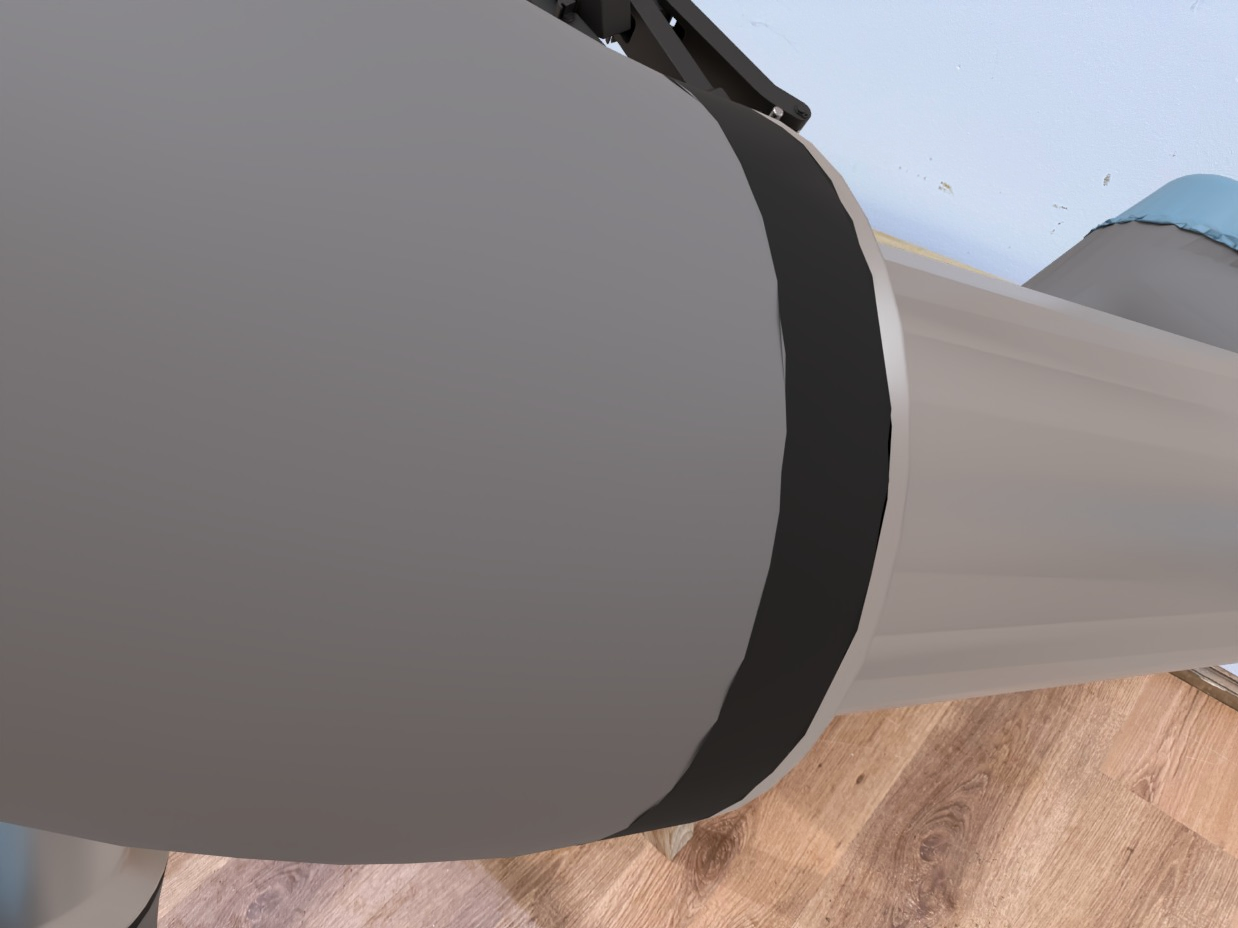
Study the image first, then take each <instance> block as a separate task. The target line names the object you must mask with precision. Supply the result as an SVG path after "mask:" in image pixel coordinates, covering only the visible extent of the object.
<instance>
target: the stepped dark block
mask: <svg viewBox="0 0 1238 928" xmlns="http://www.w3.org/2000/svg"><path fill="white" fill-rule="evenodd" d="M576 13H577V14H578V16H579V17H580V18H581V19H582V20H583V21H584V22H585V23H586V24H587V25H588V27H589V28H590V29H591V30H592V31H593V32H594V33H595V34H596V35H597V37H598V38H599V39H600V40H605V39H606V38H609V37H611V36H614V35H616V34H619V33H622V32H624V31H627V30H630V28H631V20H630V0H580V1H579V4H578V7H577V10H576ZM611 38H612V37H611Z"/></svg>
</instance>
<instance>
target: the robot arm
mask: <svg viewBox="0 0 1238 928" xmlns="http://www.w3.org/2000/svg"><path fill="white" fill-rule="evenodd" d="M579 1H580V0H0V928H158V921H159V920H158V919H159V918H158V917H159V905H160V898H161V893H162V889H163V885H164V884H163V883H164V879H165V874H166V870H167V866H168V861H169V857H170V852H174V853H181V854H182V853H183V854H184V853H185V854H194V855H203V856H212V857H223V858H232V859H243V860H245V859H246V860H259V861H273V862H275V861H276V862H289V863H290V862H291V863H305V864H317V865H318V864H319V865H335V866H356V865H357V866H358V865H359V866H363V865H410V864H426V863H427V864H428V863H442V862H444V863H445V862H459V861H460V862H461V861H477V860H492V859H509V858H510V859H511V858H518V857H522V856H523V857H524V856H528V855H533V854H538V853H544V852H549V851H554V850H560V849H565V848H569V847H575V846H576V847H578V846H583V845H587V844H591V843H596V842H601V841H605V840H610V839H616V838H621V837H627V836H631V835H636V834H642V833H647V832H652V831H657V830H663V829H668V828H672V827H677V826H683V825H688V824H692V823H697V822H701V821H705V820H706V821H707V820H708V819H712V818H715V817H718V816H721V815H724V814H727V813H730V812H732V811H736V810H739V809H740V808H742V807H745V805H747V804H749V803H750V802H752V801H753V800H755V799H757V798H758V797H760V796H761V795H763V794H765V793H766V792H768V791H770V790H771V789H772V788H773V787H774V786H775V785H776V784H777V783H778V782H780V781H781V780H782V779H783V778H784V777H785V776H787V774H789V772H790V771H792V770H793V769H794V768H795V767H796V766H797V765H798V764H799V763H800V762H802V760H804V758H806V756H807V755H808V753H809V752H810V750H811V749H812V748H813V746H815V744H816V742H817V741H818V740H819V739H820V738H821V736H822V734H823V733H824V732H825V731H826V729H827V727H829V726H830V724H831V723H832V721H833V719H834V718H835V717H836V716H837V717H838V716H844V715H853V714H860V713H868V712H874V711H883V710H890V709H897V708H906V707H913V706H921V705H929V704H937V703H944V702H951V701H957V700H958V701H960V700H966V699H974V698H982V697H983V698H984V697H989V696H990V697H991V696H998V695H1004V694H1013V693H1020V692H1027V691H1035V690H1043V689H1050V688H1052V689H1053V688H1058V687H1059V688H1060V687H1066V686H1073V685H1081V684H1088V683H1098V682H1104V681H1105V682H1106V681H1112V680H1119V679H1126V678H1136V677H1143V676H1151V675H1157V674H1166V673H1173V672H1180V671H1189V670H1195V669H1202V668H1203V669H1205V668H1211V667H1212V668H1213V667H1219V666H1225V665H1234V664H1238V180H1236V179H1233V178H1230V177H1227V176H1224V175H1220V174H1215V173H1193V174H1186V175H1183V176H1180V177H1177V178H1174V179H1172V180H1170V181H1168V182H1167V183H1165V184H1164V185H1162V186H1160V187H1159V188H1157V189H1156V190H1155V191H1154V192H1151V193H1150V194H1149V195H1147V196H1146V197H1144V198H1142V199H1141V200H1140V201H1138V202H1137V203H1136V204H1133V205H1132V206H1131V207H1129V208H1127V209H1126V210H1124V211H1123V212H1121V213H1119V214H1118V215H1117V216H1115V217H1110V218H1108V219H1106V220H1105V221H1103V222H1102V223H1100V224H1097V226H1096V227H1093V228H1091V229H1090V231H1088V233H1086V234H1085V235H1084V236H1083V238H1082V239H1081V240H1079V241H1078V242H1077V243H1076V244H1074V245H1073V246H1072V247H1070V248H1069V249H1068V250H1067V251H1065V252H1064V253H1062V254H1061V255H1060V256H1058V257H1057V258H1056V259H1054V260H1053V261H1052V262H1050V263H1049V264H1047V266H1045V267H1044V268H1043V269H1041V270H1039V272H1037V273H1036V274H1034V276H1032V277H1031V278H1029V279H1028V280H1026V281H1025V282H1024V283H1022V284H1021V285H1019V284H1016V283H1012V282H1008V281H1006V280H1002V279H999V278H996V277H993V276H989V275H986V274H983V273H980V272H976V271H973V270H970V269H968V268H964V267H961V266H957V265H955V264H952V263H947V262H944V261H941V260H938V259H935V258H933V257H928V256H925V255H923V254H919V253H916V252H913V251H909V250H906V249H903V248H899V247H896V246H894V245H889V244H887V243H883V242H880V241H878V240H877V238H876V235H875V233H874V230H873V228H872V225H871V223H870V221H869V218H868V217H867V215H866V212H865V211H864V210H863V208H862V207H861V205H860V203H859V202H858V200H857V198H856V197H855V195H854V194H853V192H852V190H851V188H850V187H849V185H848V183H847V181H846V180H845V178H844V177H843V175H842V174H841V173H840V172H839V171H838V169H837V168H836V167H834V165H833V164H832V163H831V162H830V161H829V160H828V159H827V158H826V157H825V156H824V155H823V153H822V152H821V151H820V150H819V149H818V148H817V147H816V146H815V145H814V144H813V142H812V141H810V140H808V139H807V138H806V137H804V136H802V135H801V134H800V133H801V131H802V130H803V129H804V127H805V125H806V124H807V123H808V122H809V120H810V119H811V117H812V111H811V108H810V106H809V105H808V104H806V102H804V101H802V100H801V99H799V98H798V97H796V96H794V95H793V94H791V93H789V92H787V91H786V90H784V89H782V88H781V87H779V86H777V85H776V84H775V83H774V82H773V80H771V79H770V78H769V77H768V76H767V75H766V74H765V73H764V72H763V71H762V70H761V69H760V68H759V66H757V65H756V64H755V63H754V62H753V61H752V60H751V59H750V58H749V57H748V56H747V55H746V54H745V53H744V52H743V51H742V50H741V49H740V48H739V47H738V46H737V45H736V44H735V42H734V41H733V40H731V39H730V38H729V37H728V36H727V35H726V34H725V33H724V32H723V31H722V30H721V29H720V28H719V27H718V26H717V25H716V24H715V23H714V22H713V21H712V20H711V18H710V17H708V16H707V14H705V13H704V11H702V9H700V8H699V6H698V5H696V4H695V3H694V1H692V0H630V20H631V28H630V30H627V31H624V32H622V33H619V34H616V35H614V36H611V37H609V38H606V39H604V40H605V43H606V44H605V43H604V42H603V40H602V39H601V38H598V37H597V35H596V34H595V33H594V32H593V31H592V30H591V29H590V28H589V27H588V25H587V24H586V23H585V22H584V21H583V20H582V19H581V18H580V17H579V16H578V14H577V13H576V10H577V7H578V4H579ZM673 19H674V20H675V23H674V25H672V24H671V22H672V20H673ZM613 43H617V44H618V45H619V47H620V48H621V50H622V51H623V53H624V54H625V55H624V54H622V53H620V52H619V51H616V50H614V49H612V48H610V47H608V46H607V45H609V44H613Z"/></svg>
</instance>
